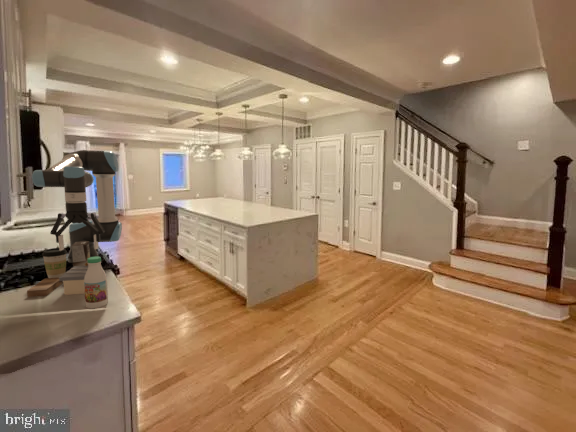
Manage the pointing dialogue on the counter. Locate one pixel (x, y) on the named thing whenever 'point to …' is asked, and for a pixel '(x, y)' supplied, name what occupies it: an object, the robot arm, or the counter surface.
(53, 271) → the coffee cup
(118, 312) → the counter surface
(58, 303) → the counter surface
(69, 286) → the tub
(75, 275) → the lid
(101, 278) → the milk bottle
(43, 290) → the stand
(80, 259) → the coffee box
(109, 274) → the counter surface
